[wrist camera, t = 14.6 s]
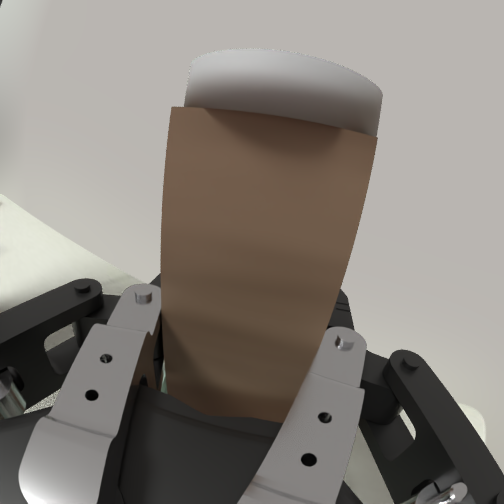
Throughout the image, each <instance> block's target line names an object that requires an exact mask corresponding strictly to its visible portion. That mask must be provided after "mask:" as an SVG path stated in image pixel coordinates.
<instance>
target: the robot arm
mask: <svg viewBox="0 0 504 504" xmlns="http://www.w3.org/2000/svg"><path fill="white" fill-rule="evenodd" d="M1 3H2V0H0V5H1ZM69 324H72V327H73V331H74V335H75V336H74V337H72V338H70V339H69V340H67V341H65V342H63V343H61V344H59V345H58V346H56V347H54V348H52V349H50V350H49V351H47V352H46V351H45V348H44V341H45V339H46V338H47V336H49V335H50V334H52V333H54V332H56V331H58V330H60V329H62V328H63V327H65V326H67V325H69ZM366 348H367V344H366V341H365V340H364V338H363V337H362V336H361V335H360V334H359V333H357V332H356V331H355V330H354V326H353V321H352V316H351V312H350V307H349V303H348V298H347V296H346V295H345V294H344V292H343V291H342V290H341V289H340V291H339V294H338V297H337V300H336V303H335V306H334V309H333V312H332V315H331V318H330V320H329V323H328V326H327V329H326V331H325V334H324V337H323V340H322V342H321V345H320V347H318V350H317V352H316V355H315V357H314V359H313V362H312V364H311V366H310V369H309V371H308V372H307V374H306V377H305V379H304V381H303V383H302V386H301V388H300V390H299V392H298V394H297V396H296V399H295V401H294V403H293V405H292V407H291V409H290V411H289V413H288V415H287V417H286V419H285V421H284V423H279V422H274V421H268V420H263V419H258V418H253V417H225V416H210V415H205V414H203V413H201V412H199V411H197V410H196V409H194V408H192V407H190V406H188V405H187V404H185V403H183V402H181V401H180V400H178V399H176V398H175V397H173V396H171V395H169V394H166V393H163V392H161V388H162V382H163V377H164V372H165V364H164V350H163V335H162V314H161V273H160V274H159V275H158V276H157V277H156V278H155V279H154V280H153V281H152V282H151V283H150V284H137V285H133V286H130V287H128V288H127V289H126V290H125V291H124V292H123V294H122V296H115V295H104V294H103V292H102V286H101V284H100V283H99V282H98V281H96V280H94V279H87V278H85V279H78V280H75V281H72V282H70V283H67V284H65V285H63V286H60V287H58V288H56V289H53V290H51V291H49V292H47V293H44V294H42V295H40V296H37V297H35V298H33V299H31V300H29V301H26V302H24V303H22V304H20V305H18V306H15V307H13V308H11V309H9V310H7V311H5V312H3V313H0V504H363V503H362V502H361V501H360V500H359V499H358V497H357V496H356V495H355V494H354V493H353V491H352V490H351V489H350V488H349V487H348V485H347V484H346V483H345V482H344V481H343V478H344V475H345V472H346V468H347V465H348V461H349V458H350V454H351V451H352V447H353V443H354V439H355V435H356V431H357V427H358V425H359V428H360V430H361V432H362V434H363V436H364V438H365V440H366V442H367V445H368V447H369V449H370V451H371V453H372V455H373V457H374V460H375V462H376V464H377V466H378V468H379V470H380V473H381V475H382V477H383V479H384V481H385V484H386V486H387V488H388V490H389V492H390V495H391V497H392V499H393V501H394V504H504V475H503V473H502V471H501V469H500V468H499V466H498V464H497V463H496V461H495V460H494V458H493V456H492V455H491V453H490V452H489V450H488V449H487V447H486V445H485V444H484V442H483V441H482V439H481V438H480V436H479V435H478V433H477V432H476V430H475V429H474V427H473V426H472V424H471V423H470V421H469V420H468V418H467V417H466V416H465V414H464V413H463V411H462V410H461V409H460V407H459V406H458V404H457V403H456V402H455V401H454V399H453V397H452V396H451V395H450V393H449V392H448V391H447V389H446V388H445V387H444V385H443V384H442V383H441V381H440V380H439V379H438V377H437V376H436V375H435V373H434V372H433V371H432V369H431V368H430V367H429V366H428V364H427V363H426V362H425V361H424V359H422V358H421V357H420V356H419V355H418V354H416V353H414V352H411V351H408V350H397V351H395V352H393V353H392V355H391V356H390V358H389V359H387V358H384V357H381V356H379V355H376V354H373V353H371V352H369V351H368V350H366ZM60 388H61V389H60ZM59 389H60V392H59V394H58V396H57V398H56V401H55V403H54V405H53V406H51V407H48V408H44V409H41V410H37V411H34V412H30V413H26V414H23V413H24V411H25V410H27V409H28V408H30V407H32V406H33V405H35V404H36V403H38V402H40V401H41V400H43V399H44V398H46V397H48V396H49V395H51V394H52V393H54V392H56V391H57V390H59ZM403 409H404V411H405V412H406V414H407V416H408V417H409V419H410V421H411V422H412V424H413V426H414V428H415V431H416V437H415V440H414V439H413V437H412V436H411V434H410V432H409V430H408V429H407V427H406V425H405V423H404V422H403V420H402V418H401V416H400V415H399V414H400V412H401V411H402V410H403Z"/></svg>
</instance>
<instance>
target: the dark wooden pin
mask: <svg viewBox="0 0 504 504" xmlns="http://www.w3.org/2000/svg"><path fill="white" fill-rule="evenodd" d="M382 96H383V95H382V92H381V90H380V89H379V87H378V86H376V84H374V83H373V82H371V81H370V80H369V79H367V78H366V77H364V76H362V75H361V74H359V73H357V72H355V71H353V70H351V69H348V68H346V67H344V66H341V65H339V64H336V63H333V62H330V61H327V60H324V59H320V58H317V57H313V56H309V55H304V54H300V53H294V52H288V51H281V50H270V49H230V50H223V51H216V52H212V53H208V54H205V55H202V56H199V57H198V58H196V59H194V60H193V61H192V63H191V66H190V72H189V78H188V84H187V90H186V96H185V103H184V107H172V108H171V115H170V123H169V131H168V140H167V150H166V160H165V173H164V185H163V201H162V223H161V314H162V335H163V350H164V364H165V375H166V385H167V394H169V395H171V396H173V397H175V398H176V399H178V400H180V401H181V402H183V403H185V404H187V405H188V406H190V407H192V408H194V409H196V410H197V411H199V412H201V413H203V414H205V415H210V416H225V417H253V418H258V419H263V420H268V421H274V422H279V423H284V421H285V419H286V417H287V415H288V413H289V411H290V409H291V407H292V405H293V403H294V401H295V399H296V396H297V394H298V392H299V390H300V388H301V386H302V383H303V381H304V379H305V377H306V374H307V372H308V371H309V369H310V366H311V364H312V362H313V359H314V357H315V355H316V352H317V350H318V347H320V345H321V342H322V340H323V337H324V334H325V331H326V329H327V326H328V323H329V320H330V318H331V315H332V312H333V309H334V306H335V303H336V300H337V297H338V294H339V291H340V288H341V285H342V282H343V278H344V275H345V272H346V269H347V265H348V261H349V259H350V255H351V251H352V248H353V245H354V241H355V237H356V233H357V230H358V226H359V222H360V218H361V214H362V210H363V206H364V201H365V198H366V193H367V189H368V184H369V180H370V175H371V170H372V165H373V160H374V155H375V150H376V144H377V139H378V138H377V137H376V136H377V130H378V124H379V118H380V111H381V104H382Z"/></svg>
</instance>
